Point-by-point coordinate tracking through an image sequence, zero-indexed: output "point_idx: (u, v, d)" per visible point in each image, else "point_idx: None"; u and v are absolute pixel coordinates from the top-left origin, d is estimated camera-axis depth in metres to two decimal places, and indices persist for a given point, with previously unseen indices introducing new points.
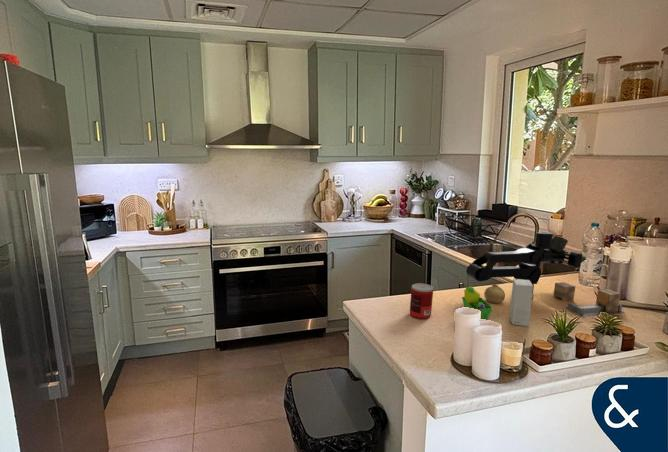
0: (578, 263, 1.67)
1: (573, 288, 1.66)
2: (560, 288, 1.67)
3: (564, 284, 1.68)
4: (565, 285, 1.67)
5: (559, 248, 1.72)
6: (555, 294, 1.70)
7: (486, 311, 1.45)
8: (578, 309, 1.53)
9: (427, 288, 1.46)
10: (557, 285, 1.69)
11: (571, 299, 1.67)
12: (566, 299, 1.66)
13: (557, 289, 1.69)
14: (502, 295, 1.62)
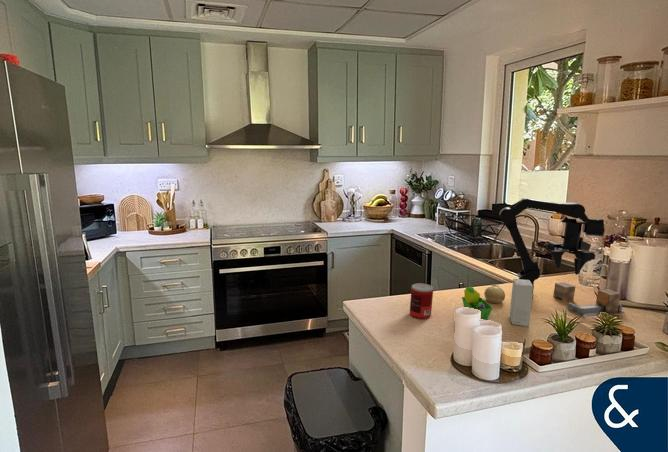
0: (588, 256, 1.56)
1: (573, 288, 1.66)
2: (560, 288, 1.67)
3: (564, 284, 1.68)
4: (565, 285, 1.67)
5: (583, 243, 1.64)
6: (555, 294, 1.70)
7: (486, 311, 1.45)
8: (578, 309, 1.53)
9: (427, 288, 1.46)
10: (557, 285, 1.69)
11: (571, 299, 1.67)
12: (566, 299, 1.66)
13: (557, 289, 1.69)
14: (502, 295, 1.62)
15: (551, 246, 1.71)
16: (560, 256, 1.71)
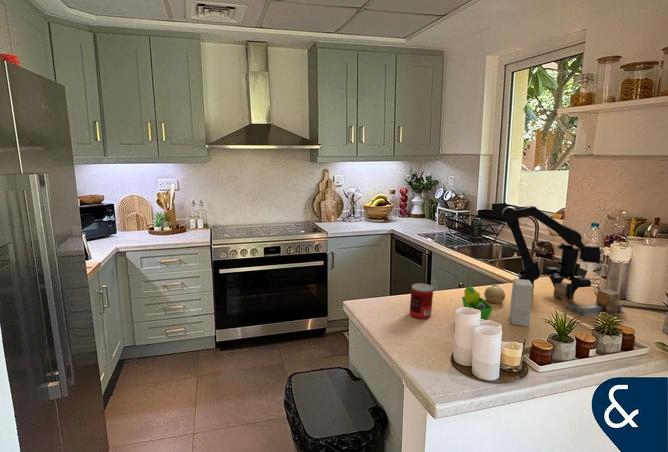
0: (584, 284, 1.58)
1: None
2: (560, 288, 1.67)
3: (564, 284, 1.68)
4: (565, 285, 1.67)
5: (579, 269, 1.66)
6: (555, 294, 1.70)
7: (486, 311, 1.45)
8: (578, 309, 1.53)
9: (427, 288, 1.46)
10: (557, 285, 1.69)
11: (571, 299, 1.67)
12: (566, 299, 1.66)
13: (557, 289, 1.69)
14: (502, 295, 1.62)
15: (548, 271, 1.73)
16: (560, 282, 1.71)
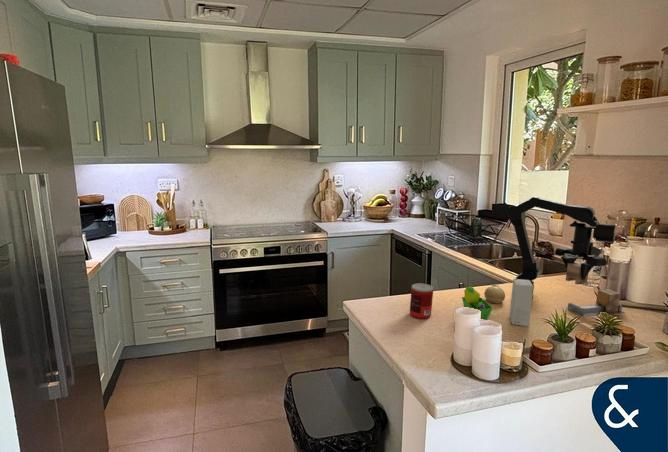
0: (599, 262, 1.51)
1: None
2: (574, 268, 1.59)
3: (577, 264, 1.61)
4: (579, 265, 1.59)
5: (593, 248, 1.58)
6: (568, 275, 1.62)
7: (486, 311, 1.45)
8: (578, 309, 1.53)
9: (427, 288, 1.46)
10: (570, 265, 1.61)
11: (585, 280, 1.59)
12: (580, 280, 1.58)
13: (570, 270, 1.61)
14: (502, 295, 1.62)
15: (559, 251, 1.65)
16: None
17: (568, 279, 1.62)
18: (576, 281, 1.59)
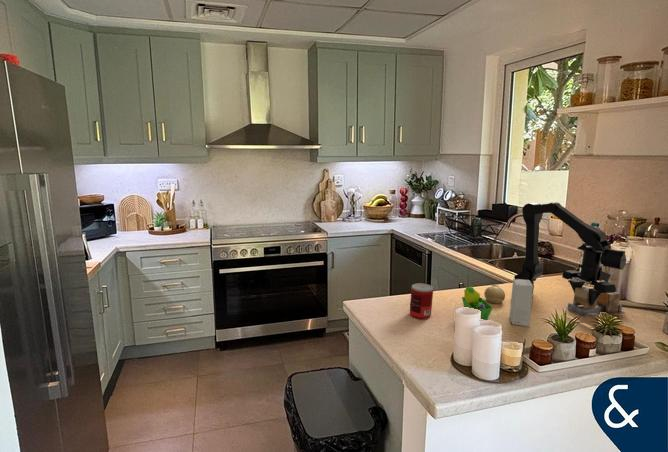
0: (608, 289, 1.45)
1: None
2: (581, 293, 1.54)
3: (585, 289, 1.55)
4: (587, 290, 1.53)
5: (602, 273, 1.52)
6: (575, 300, 1.56)
7: (486, 311, 1.45)
8: (578, 309, 1.53)
9: (427, 288, 1.46)
10: (578, 290, 1.55)
11: (593, 305, 1.53)
12: (588, 305, 1.53)
13: (578, 294, 1.55)
14: (502, 295, 1.62)
15: (567, 275, 1.59)
16: None
17: (575, 304, 1.57)
18: (584, 307, 1.53)
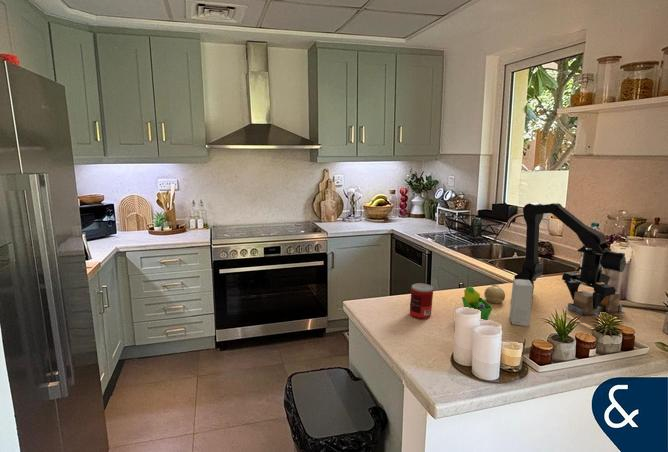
0: (608, 291, 1.45)
1: None
2: (581, 297, 1.54)
3: (585, 293, 1.55)
4: (586, 294, 1.54)
5: (602, 275, 1.52)
6: (575, 304, 1.56)
7: (486, 311, 1.45)
8: (578, 309, 1.53)
9: (427, 288, 1.46)
10: (577, 294, 1.55)
11: (593, 309, 1.54)
12: (587, 309, 1.53)
13: (577, 298, 1.55)
14: (502, 295, 1.62)
15: (567, 277, 1.59)
16: (576, 288, 1.59)
17: None
18: None
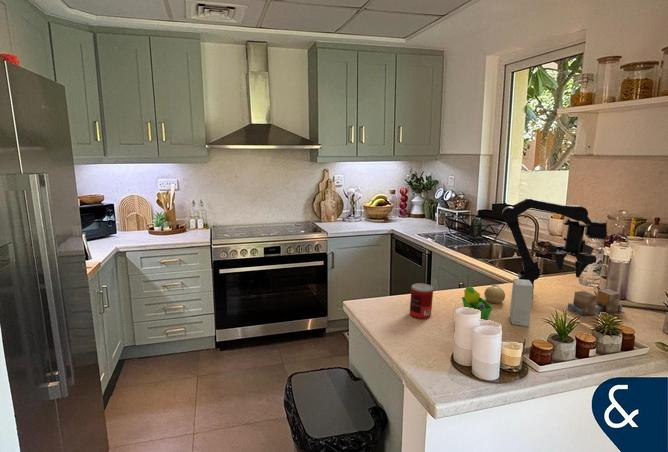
0: (589, 259, 1.56)
1: (595, 297, 1.53)
2: (581, 297, 1.54)
3: (585, 293, 1.55)
4: (586, 294, 1.54)
5: (585, 246, 1.63)
6: (575, 304, 1.56)
7: (486, 311, 1.45)
8: (578, 309, 1.53)
9: (427, 288, 1.46)
10: (577, 294, 1.55)
11: (593, 309, 1.54)
12: (587, 309, 1.53)
13: (577, 298, 1.55)
14: (502, 295, 1.62)
15: (553, 248, 1.71)
16: (562, 259, 1.71)
17: None
18: None
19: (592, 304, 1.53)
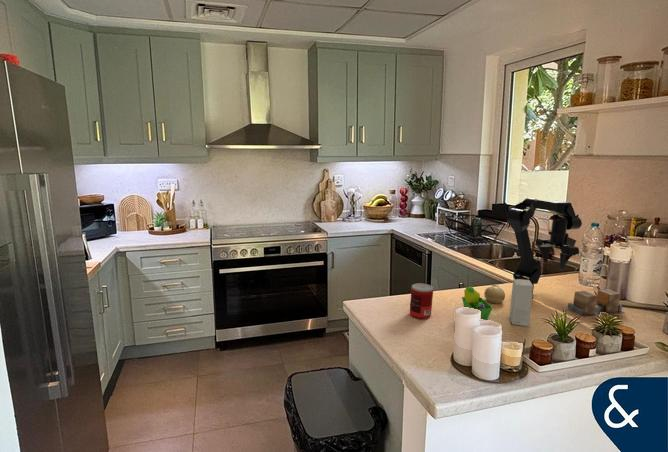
0: (572, 251, 1.68)
1: (595, 297, 1.53)
2: (581, 297, 1.54)
3: (585, 293, 1.55)
4: (586, 294, 1.54)
5: (568, 238, 1.75)
6: (575, 304, 1.56)
7: (486, 311, 1.45)
8: (578, 309, 1.53)
9: (427, 288, 1.46)
10: (577, 294, 1.55)
11: (593, 309, 1.54)
12: (587, 309, 1.53)
13: (577, 298, 1.55)
14: (502, 295, 1.62)
15: (539, 241, 1.82)
16: (547, 251, 1.82)
17: None
18: None
19: (592, 304, 1.53)
